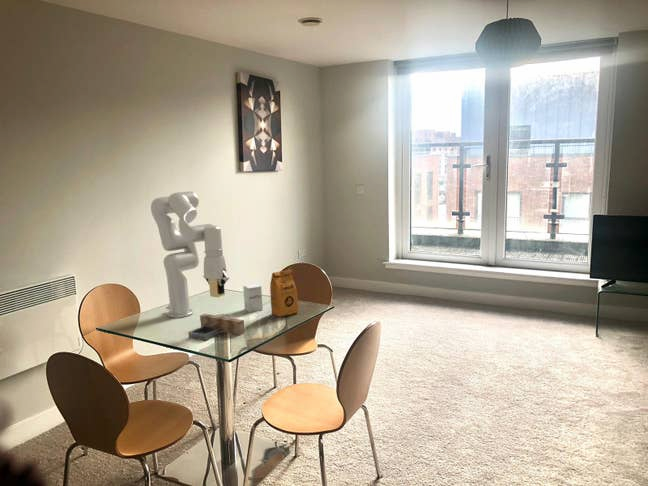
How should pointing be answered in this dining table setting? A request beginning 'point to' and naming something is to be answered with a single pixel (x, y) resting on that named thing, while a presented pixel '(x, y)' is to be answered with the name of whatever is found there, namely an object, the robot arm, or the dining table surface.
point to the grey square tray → (204, 333)
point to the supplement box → (253, 297)
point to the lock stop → (214, 288)
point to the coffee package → (283, 294)
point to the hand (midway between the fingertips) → (217, 292)
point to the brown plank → (223, 323)
